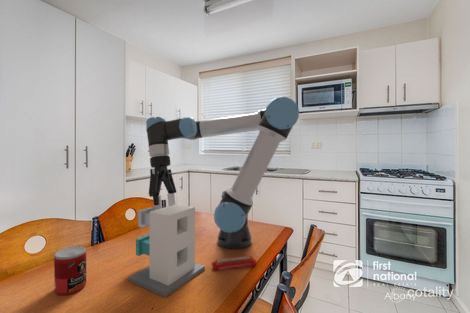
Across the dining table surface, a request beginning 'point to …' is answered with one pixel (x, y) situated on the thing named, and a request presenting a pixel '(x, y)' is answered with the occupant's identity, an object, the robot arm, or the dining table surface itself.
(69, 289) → the canned food
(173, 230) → the switch block
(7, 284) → the dining table surface
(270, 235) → the dining table surface
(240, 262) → the candy bar
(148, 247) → the teal plunger
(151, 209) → the steel plunger
